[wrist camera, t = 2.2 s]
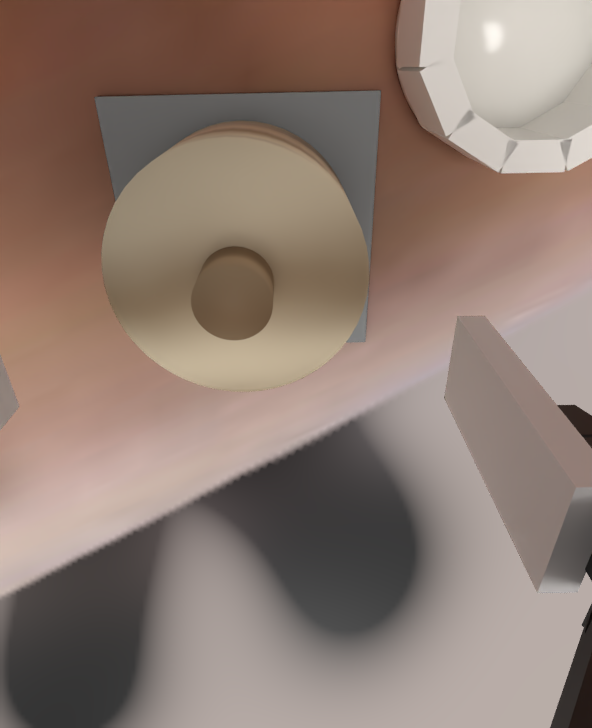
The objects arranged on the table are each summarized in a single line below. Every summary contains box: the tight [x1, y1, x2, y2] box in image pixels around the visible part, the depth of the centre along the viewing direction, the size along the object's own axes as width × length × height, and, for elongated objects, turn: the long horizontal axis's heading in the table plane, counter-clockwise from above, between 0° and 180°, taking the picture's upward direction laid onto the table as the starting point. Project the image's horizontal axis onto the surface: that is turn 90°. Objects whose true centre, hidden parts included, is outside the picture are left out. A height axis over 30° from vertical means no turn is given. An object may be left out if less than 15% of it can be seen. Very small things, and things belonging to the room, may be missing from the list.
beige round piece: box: [101, 120, 369, 392], centre depth 20 cm, size 10×10×8 cm
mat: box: [94, 90, 381, 342], centre depth 24 cm, size 12×12×1 cm
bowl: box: [395, 0, 592, 173], centre depth 18 cm, size 9×9×5 cm
